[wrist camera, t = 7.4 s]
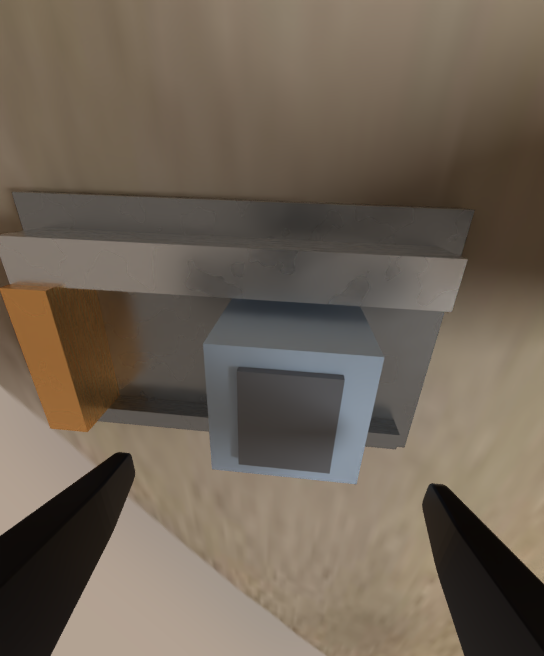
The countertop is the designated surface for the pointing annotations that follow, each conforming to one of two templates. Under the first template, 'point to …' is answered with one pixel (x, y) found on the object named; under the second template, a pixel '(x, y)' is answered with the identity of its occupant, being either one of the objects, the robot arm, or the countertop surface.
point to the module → (291, 389)
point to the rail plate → (190, 319)
